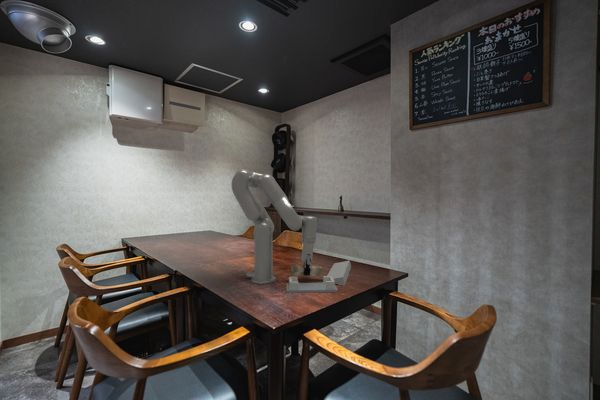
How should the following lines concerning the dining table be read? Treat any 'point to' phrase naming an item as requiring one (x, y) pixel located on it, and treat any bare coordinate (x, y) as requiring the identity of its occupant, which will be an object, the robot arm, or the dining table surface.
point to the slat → (300, 271)
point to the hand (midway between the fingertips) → (306, 273)
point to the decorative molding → (340, 272)
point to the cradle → (311, 285)
